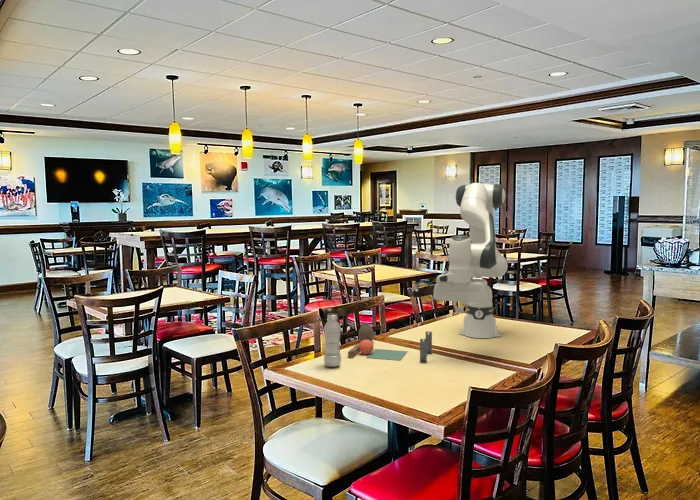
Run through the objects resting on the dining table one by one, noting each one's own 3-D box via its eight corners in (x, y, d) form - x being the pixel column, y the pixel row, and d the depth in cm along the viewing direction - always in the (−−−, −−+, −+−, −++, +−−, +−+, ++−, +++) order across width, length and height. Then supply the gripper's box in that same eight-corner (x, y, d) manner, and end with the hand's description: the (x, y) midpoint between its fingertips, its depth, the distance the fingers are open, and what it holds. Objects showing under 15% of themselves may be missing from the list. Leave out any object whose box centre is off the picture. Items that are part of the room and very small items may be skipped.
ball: (366, 353, 219) (359, 340, 219) (378, 348, 216) (371, 335, 216) (361, 358, 213) (354, 345, 213) (373, 353, 211) (366, 340, 211)
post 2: (425, 352, 217) (426, 331, 216) (432, 353, 216) (432, 331, 215) (424, 354, 214) (425, 332, 214) (431, 354, 213) (431, 333, 213)
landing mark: (374, 349, 222) (374, 348, 222) (407, 351, 218) (407, 351, 218) (366, 357, 209) (366, 357, 209) (400, 360, 205) (400, 360, 205)
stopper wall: (360, 346, 226) (360, 341, 226) (365, 347, 226) (364, 341, 226) (348, 357, 209) (347, 351, 209) (352, 358, 209) (352, 352, 209)
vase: (372, 344, 231) (372, 324, 230) (357, 343, 232) (357, 324, 232) (374, 340, 238) (374, 321, 237) (360, 340, 239) (359, 321, 238)
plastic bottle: (332, 363, 202) (332, 312, 201) (344, 366, 197) (344, 314, 196) (320, 366, 198) (319, 314, 196) (332, 370, 193) (331, 316, 192)
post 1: (420, 361, 204) (420, 338, 204) (427, 361, 203) (427, 338, 203) (419, 362, 202) (419, 340, 201) (426, 363, 201) (426, 340, 200)
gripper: (487, 277, 203) (487, 312, 204) (435, 275, 209) (434, 309, 210) (487, 279, 197) (486, 315, 198) (432, 277, 203) (432, 312, 204)
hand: (459, 312), depth 204 cm, fingers closed
